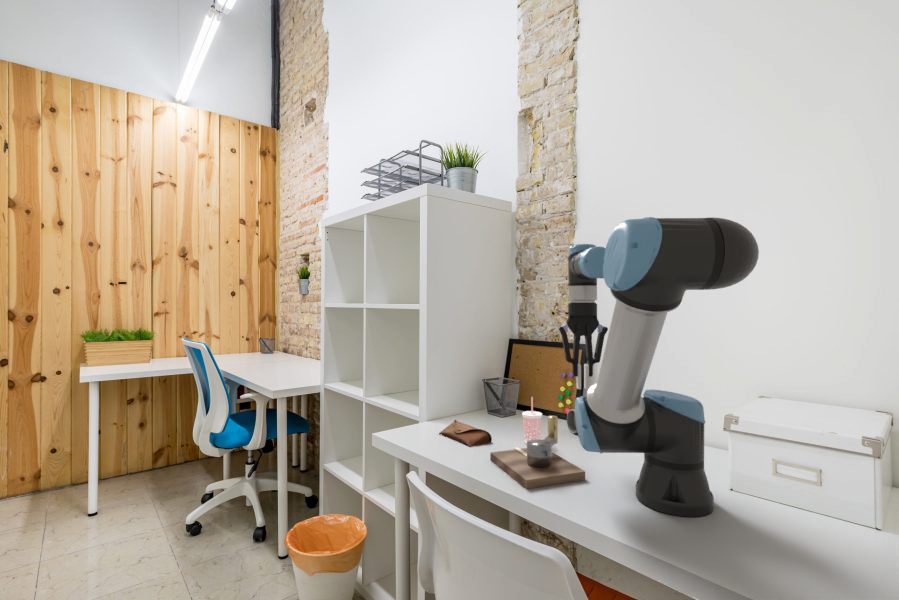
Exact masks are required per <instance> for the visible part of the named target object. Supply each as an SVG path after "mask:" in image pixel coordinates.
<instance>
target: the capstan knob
mask: <svg viewBox="0 0 899 600" xmlns="http://www.w3.org/2000/svg"><path fill="white" fill-rule="evenodd" d="M558 418H559V417H558V416H557V415H548V416H547V436H546V437H544V439H540V440H539V439H535V440H529V441H528V442H527V444H526V448H527V463H528V464H529V465H531V466H534V467H548V466H550V465H551V452H552V447H553V446H554V445H556V444H558V433H559V432H558V431H559V430H558V428H559V427H558V425H559V424H558Z"/></svg>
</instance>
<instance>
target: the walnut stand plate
mask: <svg viewBox="0 0 899 600" xmlns="http://www.w3.org/2000/svg"><path fill="white" fill-rule="evenodd" d="M489 453H490V456H489V457H490V461H491V462H492V463H494V464H495V466H497V467H498V468H499V469H501V470H503V471H504V473H506V474H507V475H508V476H510V477H511V478H512V479H513V480H514V481H516V482H517V483H518V484H520V485H521V486H522V487H524V488H525V489H526V490H528V489H534V488H541V487H547V486H548V485H549V486H553V485H559V484H561V485H562V484H567V482H568V483H572V482H573V481H574V482H580V481H585V480H586V471H585V470H584V469H582V468H580V467H579V466H577V465H575V464H573V463H572V462H570V461H568V460H566V459H565V458H564V457H561V456H560V455H558V454H557V453H556V452H555V453H554V452H553V451H551V465H550V466H548V467H534V466H531V465H529V464H528V463H527V447H524V448H522V447H521V448H519V447H518V446H517V447H513V449H507V450H500V451H492V452H489ZM579 480H580V481H579Z"/></svg>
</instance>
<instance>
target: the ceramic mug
mask: <svg viewBox="0 0 899 600" xmlns="http://www.w3.org/2000/svg"><path fill="white" fill-rule="evenodd" d="M566 424H567V428H568V430H569V432H570V433H571V434H573V435H574V434H578V431H577V426H576V418H575V408H573V409H569V410H568V412H567V415H566Z"/></svg>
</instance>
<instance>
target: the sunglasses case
mask: <svg viewBox="0 0 899 600" xmlns="http://www.w3.org/2000/svg"><path fill="white" fill-rule="evenodd" d="M440 434H442V435H441V436H443V435H444V436H443V437H446V436H447V437H446V438H448V439H451V438H452V440H454V441H456V442H459V443H461V444H463V445H465V446H467V447H469V448H474V447H477V446H482V445H486V444H489V443H490V444H491V443H492V441H493V440H492V439H493V437H492V435H491V434H490V432H488V431H487V430H485V429H481V428H477V427H474V426H472V425H470V424H466V423H465V422H461V421H459V420H456V419H454V421H453V422H451V423H450V424H448V426H446V427H445V428H443V430H441V431H440V432H439V434H438V435H440Z"/></svg>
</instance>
